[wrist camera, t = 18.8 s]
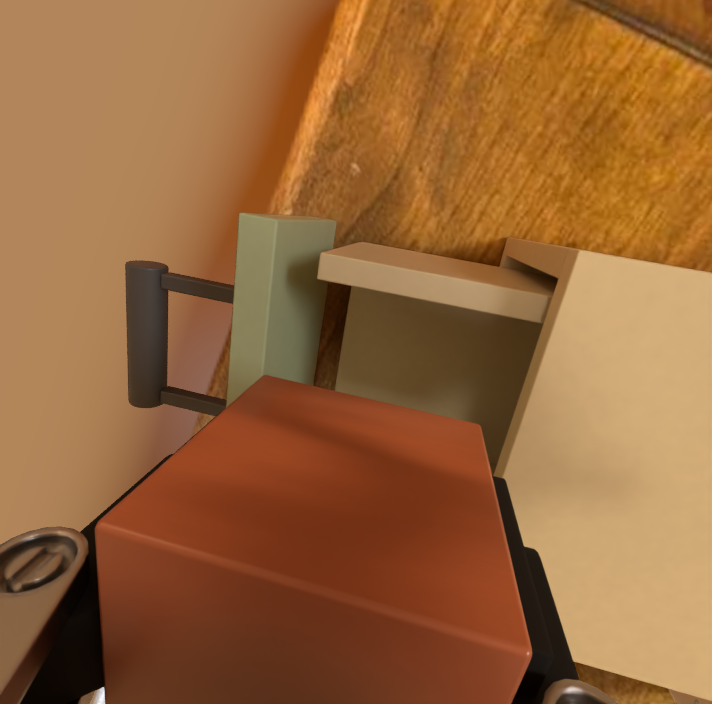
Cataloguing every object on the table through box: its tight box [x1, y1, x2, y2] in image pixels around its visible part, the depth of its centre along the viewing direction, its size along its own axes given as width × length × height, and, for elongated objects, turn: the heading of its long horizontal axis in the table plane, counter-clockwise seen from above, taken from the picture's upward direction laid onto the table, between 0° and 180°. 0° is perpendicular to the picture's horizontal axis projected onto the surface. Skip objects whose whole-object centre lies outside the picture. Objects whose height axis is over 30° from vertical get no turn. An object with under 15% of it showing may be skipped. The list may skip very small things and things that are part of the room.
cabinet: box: [493, 237, 712, 701], centre depth 15 cm, size 15×13×10 cm
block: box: [95, 375, 532, 704], centre depth 7 cm, size 5×5×5 cm
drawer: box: [125, 213, 558, 476], centre depth 17 cm, size 19×11×8 cm, turn 80°
